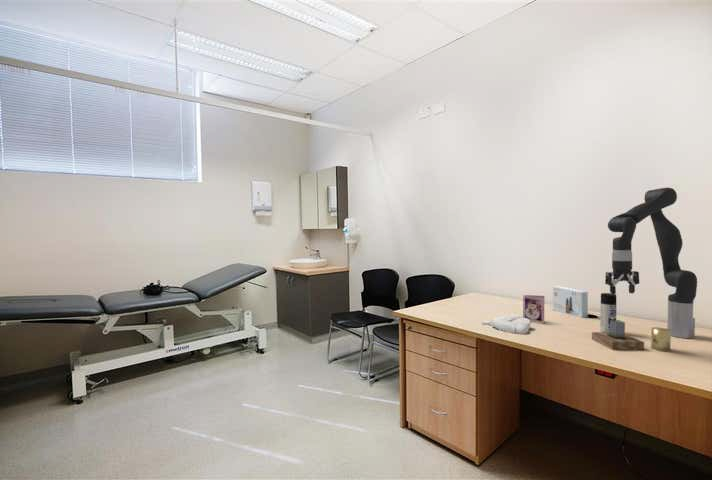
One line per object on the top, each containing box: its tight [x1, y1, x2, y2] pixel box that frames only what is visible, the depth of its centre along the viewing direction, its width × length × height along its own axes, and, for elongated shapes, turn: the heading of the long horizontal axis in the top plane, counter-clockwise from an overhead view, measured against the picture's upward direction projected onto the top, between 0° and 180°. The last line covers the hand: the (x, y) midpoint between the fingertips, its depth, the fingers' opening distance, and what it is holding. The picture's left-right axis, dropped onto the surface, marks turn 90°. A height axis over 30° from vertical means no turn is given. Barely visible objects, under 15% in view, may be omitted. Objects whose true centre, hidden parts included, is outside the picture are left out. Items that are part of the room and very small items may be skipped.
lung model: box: [480, 314, 532, 335], centre depth 188 cm, size 7×17×25 cm
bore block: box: [591, 331, 645, 351], centre depth 160 cm, size 14×14×4 cm
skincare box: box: [552, 285, 589, 319], centre depth 216 cm, size 21×6×16 cm, turn 17°
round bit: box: [650, 326, 672, 353], centre depth 153 cm, size 6×6×9 cm
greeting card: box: [522, 294, 545, 325], centre depth 199 cm, size 11×7×15 cm, turn 42°
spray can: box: [600, 292, 617, 332], centre depth 178 cm, size 7×7×20 cm
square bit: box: [610, 319, 626, 339], centre depth 160 cm, size 4×4×11 cm
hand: (622, 293), depth 162 cm, fingers open, 8 cm apart
